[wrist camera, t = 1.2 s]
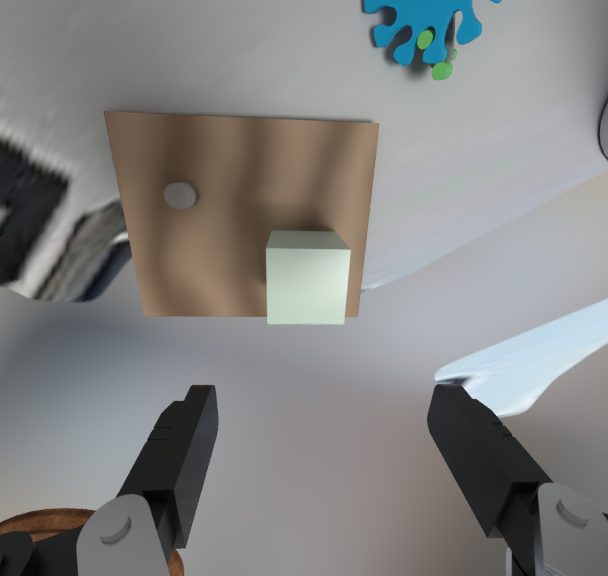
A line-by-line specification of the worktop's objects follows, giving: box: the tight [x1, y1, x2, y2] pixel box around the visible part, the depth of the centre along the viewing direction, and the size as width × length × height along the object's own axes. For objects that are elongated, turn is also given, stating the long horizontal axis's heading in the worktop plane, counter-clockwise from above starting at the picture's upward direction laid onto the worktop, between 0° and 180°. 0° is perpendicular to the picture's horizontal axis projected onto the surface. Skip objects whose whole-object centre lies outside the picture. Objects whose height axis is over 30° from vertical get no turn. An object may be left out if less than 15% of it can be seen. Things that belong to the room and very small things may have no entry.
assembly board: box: [104, 111, 379, 317], centre depth 25 cm, size 22×18×6 cm
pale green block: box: [266, 230, 351, 324], centre depth 24 cm, size 6×6×7 cm
